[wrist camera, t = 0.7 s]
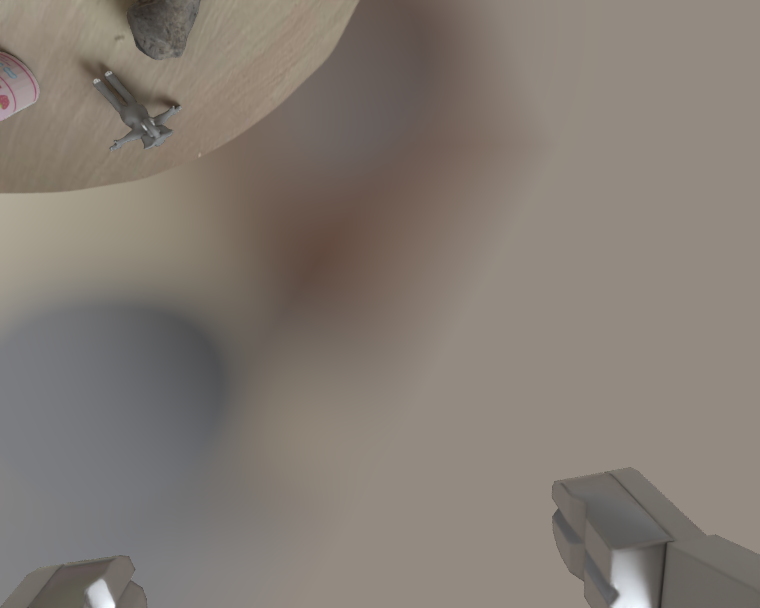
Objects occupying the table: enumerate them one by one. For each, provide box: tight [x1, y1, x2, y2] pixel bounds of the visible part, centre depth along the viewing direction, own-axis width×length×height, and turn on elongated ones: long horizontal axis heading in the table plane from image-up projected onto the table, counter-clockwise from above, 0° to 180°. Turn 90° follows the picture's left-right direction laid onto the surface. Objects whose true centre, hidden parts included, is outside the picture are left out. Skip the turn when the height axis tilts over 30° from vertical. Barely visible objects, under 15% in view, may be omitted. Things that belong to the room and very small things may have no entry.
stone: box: [127, 0, 200, 60], centre depth 41 cm, size 10×5×8 cm
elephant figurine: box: [93, 71, 181, 151], centre depth 47 cm, size 10×6×9 cm
